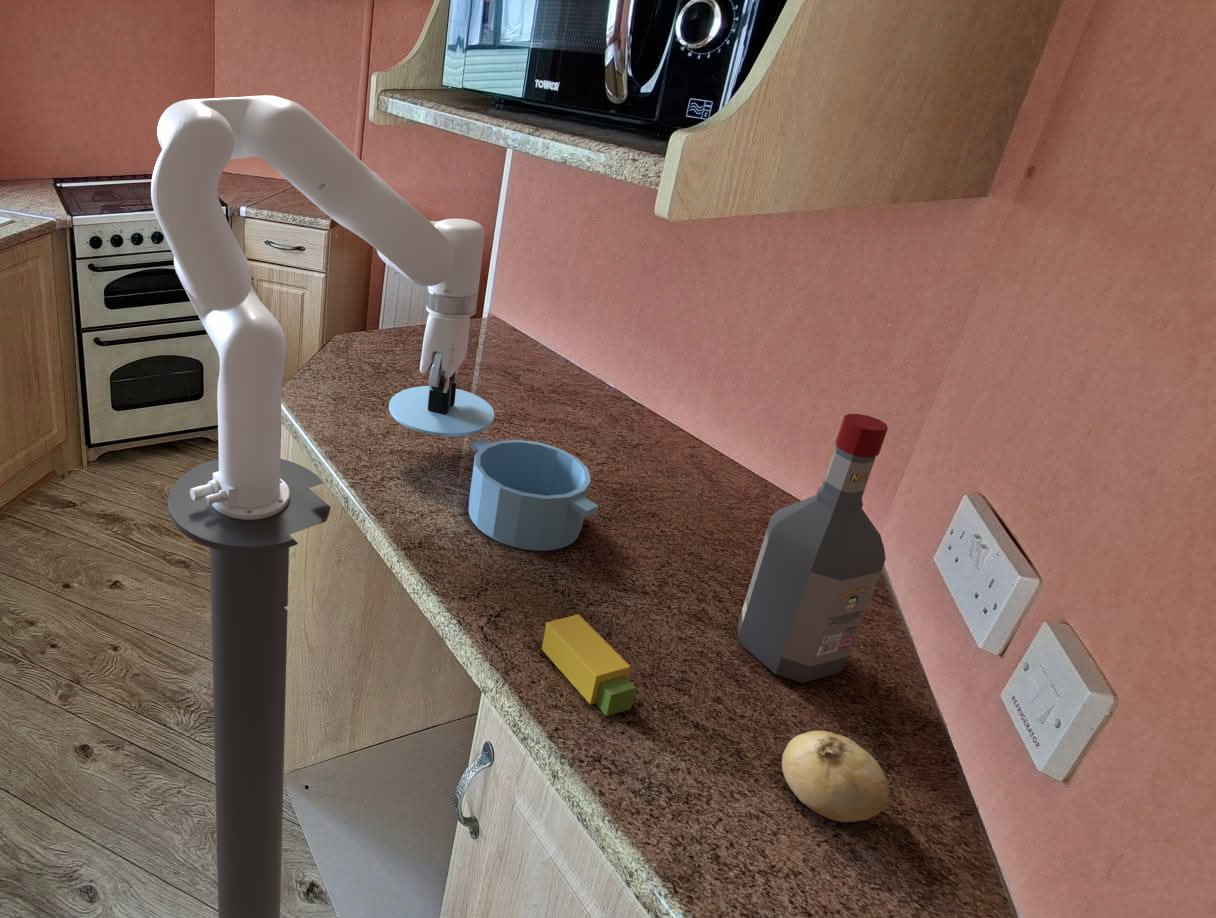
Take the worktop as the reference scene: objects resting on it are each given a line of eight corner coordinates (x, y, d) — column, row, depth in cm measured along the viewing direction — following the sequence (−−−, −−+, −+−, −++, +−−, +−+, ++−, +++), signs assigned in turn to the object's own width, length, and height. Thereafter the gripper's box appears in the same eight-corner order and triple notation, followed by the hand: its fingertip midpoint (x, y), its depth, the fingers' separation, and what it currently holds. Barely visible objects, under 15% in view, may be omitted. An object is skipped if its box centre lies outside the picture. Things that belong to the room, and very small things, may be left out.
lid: (436, 450, 118) (440, 410, 116) (368, 406, 131) (370, 369, 129) (516, 423, 126) (521, 385, 123) (443, 384, 139) (447, 349, 137)
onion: (796, 746, 79) (816, 693, 77) (889, 805, 74) (915, 750, 71) (760, 789, 75) (780, 735, 72) (857, 855, 69) (882, 799, 66)
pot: (543, 575, 103) (552, 521, 100) (433, 497, 120) (439, 448, 117) (620, 539, 111) (631, 487, 107) (507, 470, 127) (514, 423, 124)
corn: (636, 707, 84) (643, 679, 82) (601, 718, 83) (608, 689, 81) (573, 640, 93) (578, 613, 91) (541, 649, 91) (546, 622, 90)
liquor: (853, 672, 88) (946, 437, 77) (789, 690, 86) (874, 450, 74) (783, 617, 97) (857, 397, 85) (723, 632, 94) (790, 407, 82)
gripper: (444, 282, 129) (434, 384, 136) (410, 313, 116) (401, 423, 123) (490, 290, 126) (477, 393, 133) (460, 322, 113) (448, 435, 120)
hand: (441, 407), depth 128 cm, fingers closed on lid, 2 cm apart
